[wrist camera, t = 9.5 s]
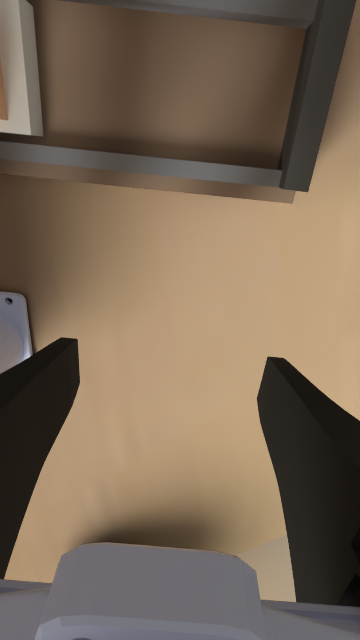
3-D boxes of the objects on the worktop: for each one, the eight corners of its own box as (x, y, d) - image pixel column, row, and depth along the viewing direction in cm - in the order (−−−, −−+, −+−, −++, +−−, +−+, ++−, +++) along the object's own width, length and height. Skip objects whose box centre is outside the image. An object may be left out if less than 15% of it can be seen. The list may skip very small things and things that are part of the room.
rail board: (-59, 165, 19) (-106, 167, 16) (-104, -53, 15) (-179, -106, 12) (285, 199, 20) (303, 209, 17) (330, -2, 16) (365, -40, 13)
